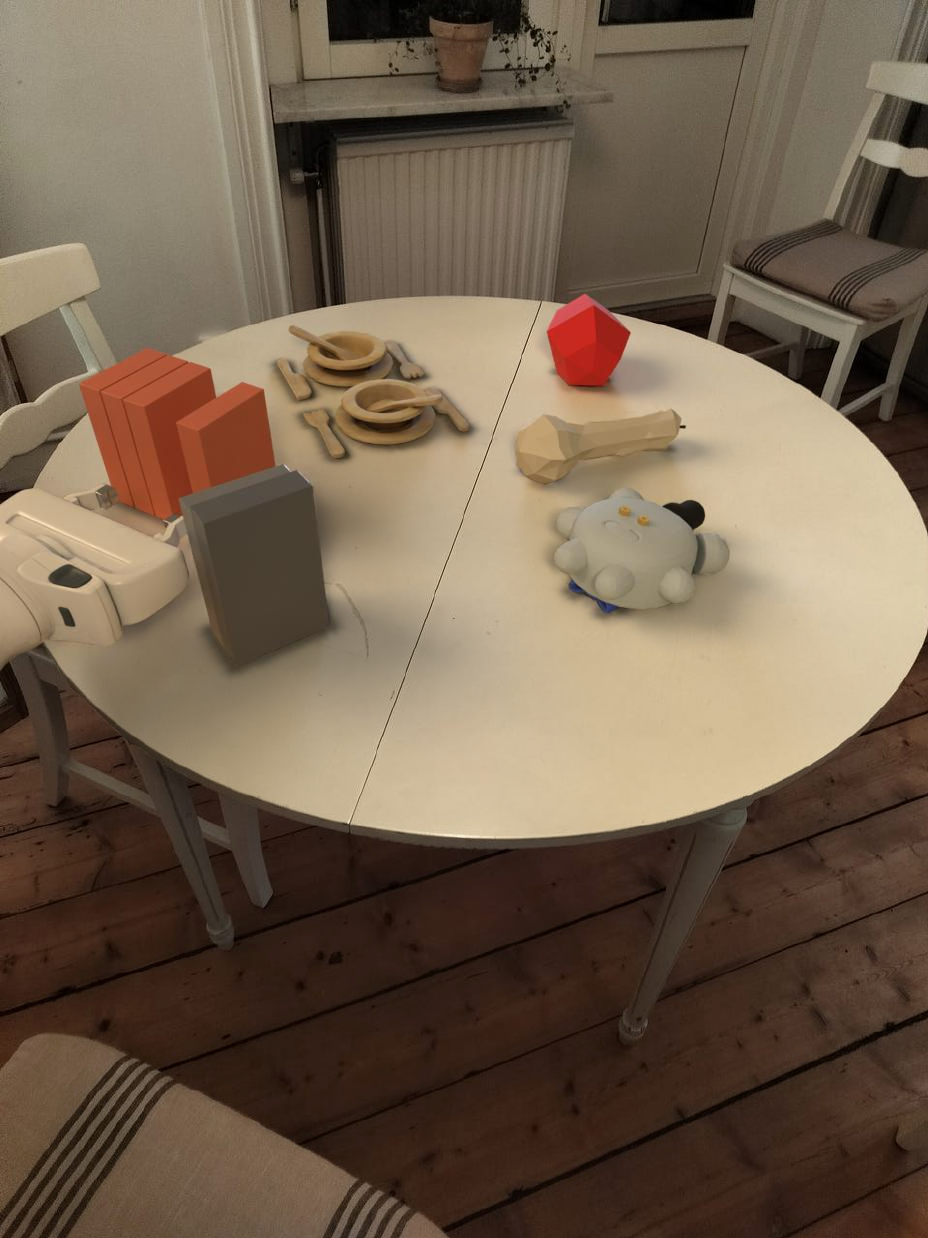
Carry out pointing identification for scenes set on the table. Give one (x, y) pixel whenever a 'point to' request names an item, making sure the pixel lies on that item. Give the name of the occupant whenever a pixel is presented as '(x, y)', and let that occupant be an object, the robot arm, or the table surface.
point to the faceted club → (588, 441)
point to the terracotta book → (227, 438)
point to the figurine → (637, 551)
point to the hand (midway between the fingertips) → (147, 505)
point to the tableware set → (367, 390)
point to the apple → (586, 342)
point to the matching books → (146, 426)
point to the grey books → (258, 561)
